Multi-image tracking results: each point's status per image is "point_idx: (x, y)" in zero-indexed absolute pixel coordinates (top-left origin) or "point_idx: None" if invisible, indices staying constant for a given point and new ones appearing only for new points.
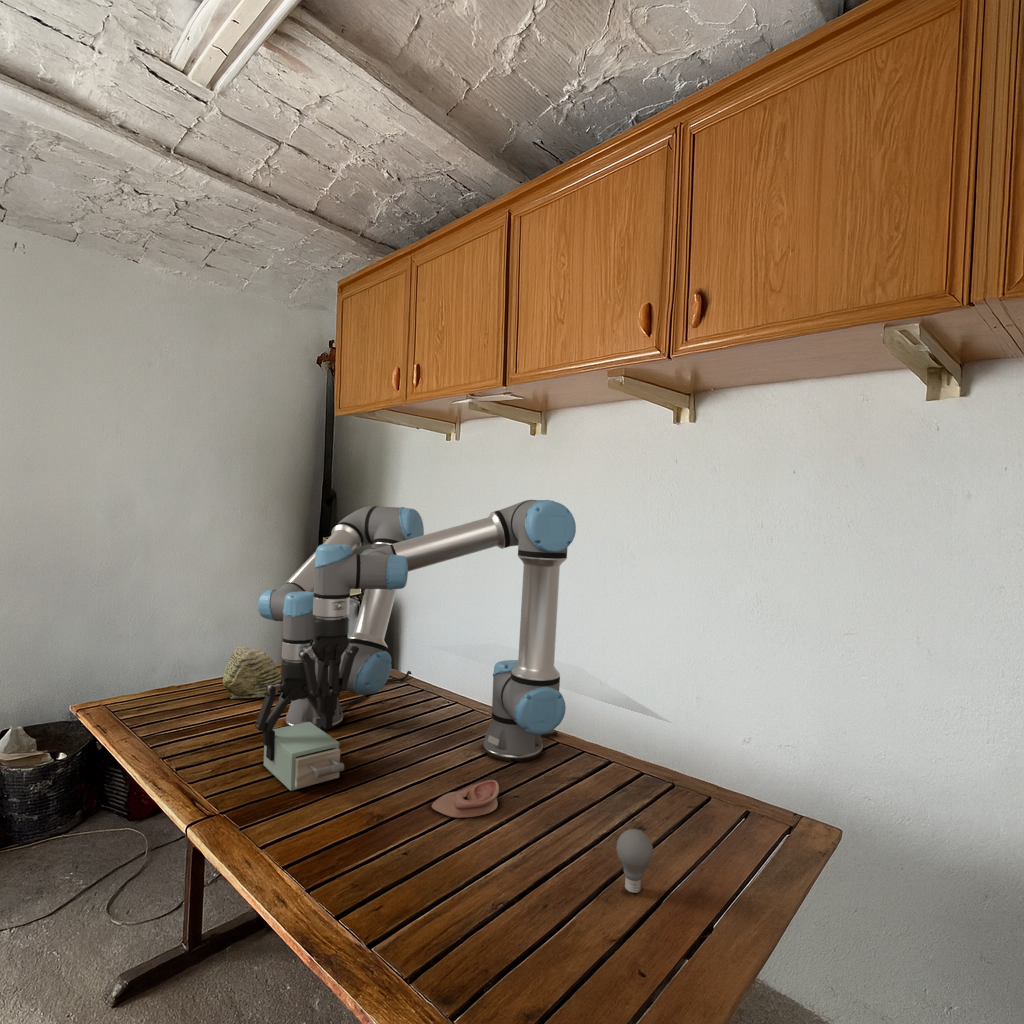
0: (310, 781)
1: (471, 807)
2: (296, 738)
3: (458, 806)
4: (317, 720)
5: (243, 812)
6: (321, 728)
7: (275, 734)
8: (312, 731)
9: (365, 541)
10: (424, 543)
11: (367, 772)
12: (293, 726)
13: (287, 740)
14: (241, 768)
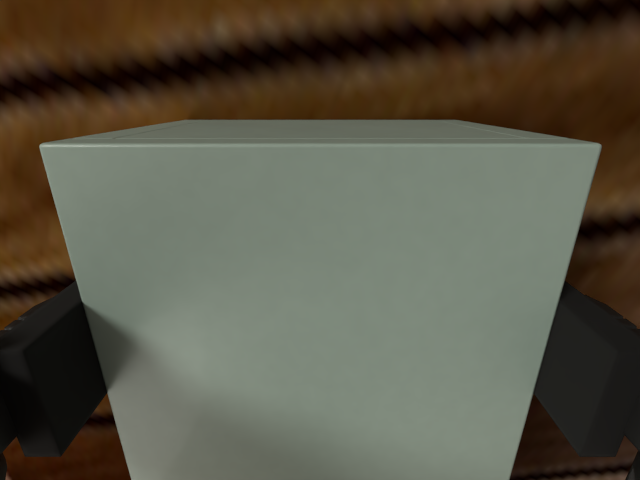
0: None
1: None
2: (270, 458)
3: None
4: (597, 381)
5: (46, 460)
6: (545, 398)
7: (132, 304)
8: (448, 403)
9: None
10: None
11: (532, 433)
12: (369, 195)
13: (195, 459)
14: (64, 84)
